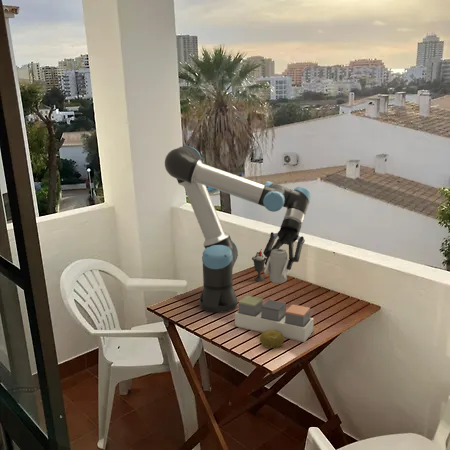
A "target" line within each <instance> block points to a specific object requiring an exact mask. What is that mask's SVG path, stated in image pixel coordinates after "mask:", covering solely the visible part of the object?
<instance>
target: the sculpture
mask: <svg viewBox="0 0 450 450" xmlns="http://www.w3.org/2000/svg"><path fill="white" fill-rule="evenodd" d="M284 340H285V338H284V337H283V335H282V334H281V333H280V332H279V331H276V330H267V331H264V332H263V333H262V332H261V333H260V336H259V342H260V344H261V345H262V346H263V347H266V348H269V349H275V348H278V347H281V346H282V345H283V344H284V342H285V341H284Z"/></svg>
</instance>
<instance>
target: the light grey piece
mask: <svg viewBox="0 0 450 450" xmlns="http://www.w3.org/2000/svg"><path fill="white" fill-rule="evenodd" d="M314 322H315V319H314V318H313V317H310V321H309V322H308V323H307V324H306V326H305V327H300V326H295V325H291V324H286V323H285V317H284V318H283V319H282V320H281V321H280V322H277V321H273V320H268V319H263V318H261V312H260V313H259V314H258V315H257V316H256V317H254V316H250V315H245V314H241V313H239V309H238V310H237V311H236V312H234V327H236V328H237V327H238V328H242V329H245V330H251V331H255V332H259V333H261V334H262V333H263V332H264V331H267V330H276V331H279V332H280V333H281V334H282V335H283V337H284V339H289V340H294V341H297V342H301V343H306V342H307V340H308V339H309V338H308V337H310V336H311V335H312V334H313V333H314V324H315V323H314ZM312 332H313V333H312ZM311 333H312V334H311Z"/></svg>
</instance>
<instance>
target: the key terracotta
mask: <svg viewBox="0 0 450 450" xmlns="http://www.w3.org/2000/svg"><path fill="white" fill-rule="evenodd" d="M310 318H311V307H309V306H308V307H307V306H303V305H297V304H293V303H292V304H291V305H290V306H289V307H288V308H287V309H286V311H285V323H286V324H291V325H295V326H300V327H305V326H306V324H307V323H308V322H309V321H310Z"/></svg>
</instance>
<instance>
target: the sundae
mask: <svg viewBox="0 0 450 450" xmlns="http://www.w3.org/2000/svg"><path fill="white" fill-rule="evenodd" d="M266 258H267V257H265V255H264V254H263V252H262V249H261V248H260V250H259V252H256V254H255V255H254V256H253V257H251V261H253V265H254V270H255V271H256V273H257V276H256V277H254V278H253V280H254V281H257V282H262V281H265V278H264V277H262V275H261V272H264V270H265V261H266Z"/></svg>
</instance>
